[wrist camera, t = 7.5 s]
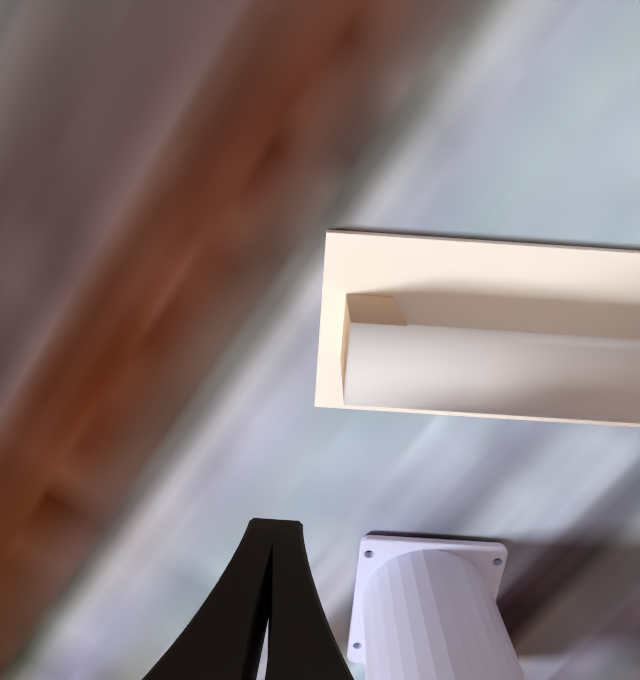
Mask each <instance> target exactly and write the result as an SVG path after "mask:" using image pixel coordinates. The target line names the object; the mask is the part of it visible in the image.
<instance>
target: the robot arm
mask: <svg viewBox="0 0 640 680" xmlns="http://www.w3.org/2000/svg"><path fill="white" fill-rule="evenodd" d="M369 550H370V551H371V552H366V551H369ZM507 557H508V551H507V549H506V547H505V545H504V544H502V543H495V542H479V541H462V540H446V539H430V538H413V537H397V536H381V535H366V536H364V537H363V538H362V539H361V541H360V549H359V558H358V566H357V574H356V583H355V591H354V599H353V608H352V616H351V624H350V633H349V641H348V649H347V656H348V659H349V661H351V662H354V663H364V664H365V677H366V680H526V678H525V676H524V673H523V671H522V668H521V666H520V663H519V661H518V658H517V655H516V653H515V650H514V648H513V645H512V643H511V640H510V638H509V635H508V633H507V630H506V627H505V625H504V622H503V620H502V617H501V615H500V612H499V610H498V607H497V604H496V599H497V595H498V591H499V587H500V583H501V580H502V576H503V572H504V568H505V564H506V561H507ZM496 558H498V559H497V560H494V559H496ZM268 617H269V623H268V660H267V668H266V676H265V680H354V679H353V677H352V675H351V673H350V671H349V669H348V666H347V664H346V662H345V660H344V658H343V656H342V654H341V652H340V650H339V647H338V645H337V643H336V641H335V638H334V636H333V634H332V631H331V629H330V626H329V624H328V621H327V619H326V616H325V613H324V611H323V608H322V605H321V602H320V599H319V597H318V594H317V590H316V587H315V584H314V581H313V577H312V574H311V570H310V567H309V563H308V558H307V554H306V549H305V544H304V537H303V525H302V524H301V523H300V522H299V521H291V520H276V519H262V518H253V519H252V520H250V521H249V524H248V526H247V529H246V531H245V534H244V536H243V538H242V540H241V542H240V544H239V546H238V548H237V550H236V552H235V553H234V555H233V557H232V559H231V561H230V562H229V564H228V566H227V567H226V569H225V571H224V572H223V574H222V576H221V577H220V579H219V581H218V582H217V584H216V585H215V587H214V588H213V590H212V591H211V593H210V594H209V596H208V597H207V599H206V600H205V602H204V603H203V605H202V606H201V607H200V609H199V610H198V612H197V613H196V615H195V616H194V617H193V619H192V620H191V621H190V623H189V624H188V625H187V627H186V628H185V629H184V631H183V632H182V633H181V634H180V636H179V637H178V638H177V639H176V641H175V642H174V643H173V644H172V646H171V647H170V648H169V649H168V650H167V652H166V653H165V654H164V655H163V656H162V657H161V658H160V660H159V661H158V662H157V663H156V664H155V665H154V667H153V668H152V669H151V670H150V671H149V672H148V673H147V674H146V676H145V677H144V678H143V679H142V680H256V678H257V673H258V668H259V663H260V658H261V653H262V648H263V643H264V638H265V633H266V628H267V622H268Z"/></svg>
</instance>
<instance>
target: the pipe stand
mask: <svg viewBox="0 0 640 680" xmlns="http://www.w3.org/2000/svg"><path fill="white" fill-rule="evenodd" d="M315 407H330V408H345V409H361V410H377V411H392V412H408V413H424V414H439V415H455V416H471V417H486V418H502V419H518V420H533V421H549V422H565V423H581V424H596V425H612V426H628V427H640V251H638V250H623V249H608V248H593V247H579V246H564V245H549V244H534V243H519V242H504V241H490V240H475V239H460V238H445V237H430V236H416V235H401V234H386V233H371V232H356V231H341V230H326V245H325V260H324V274H323V289H322V304H321V318H320V333H319V348H318V363H317V377H316V392H315Z"/></svg>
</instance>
